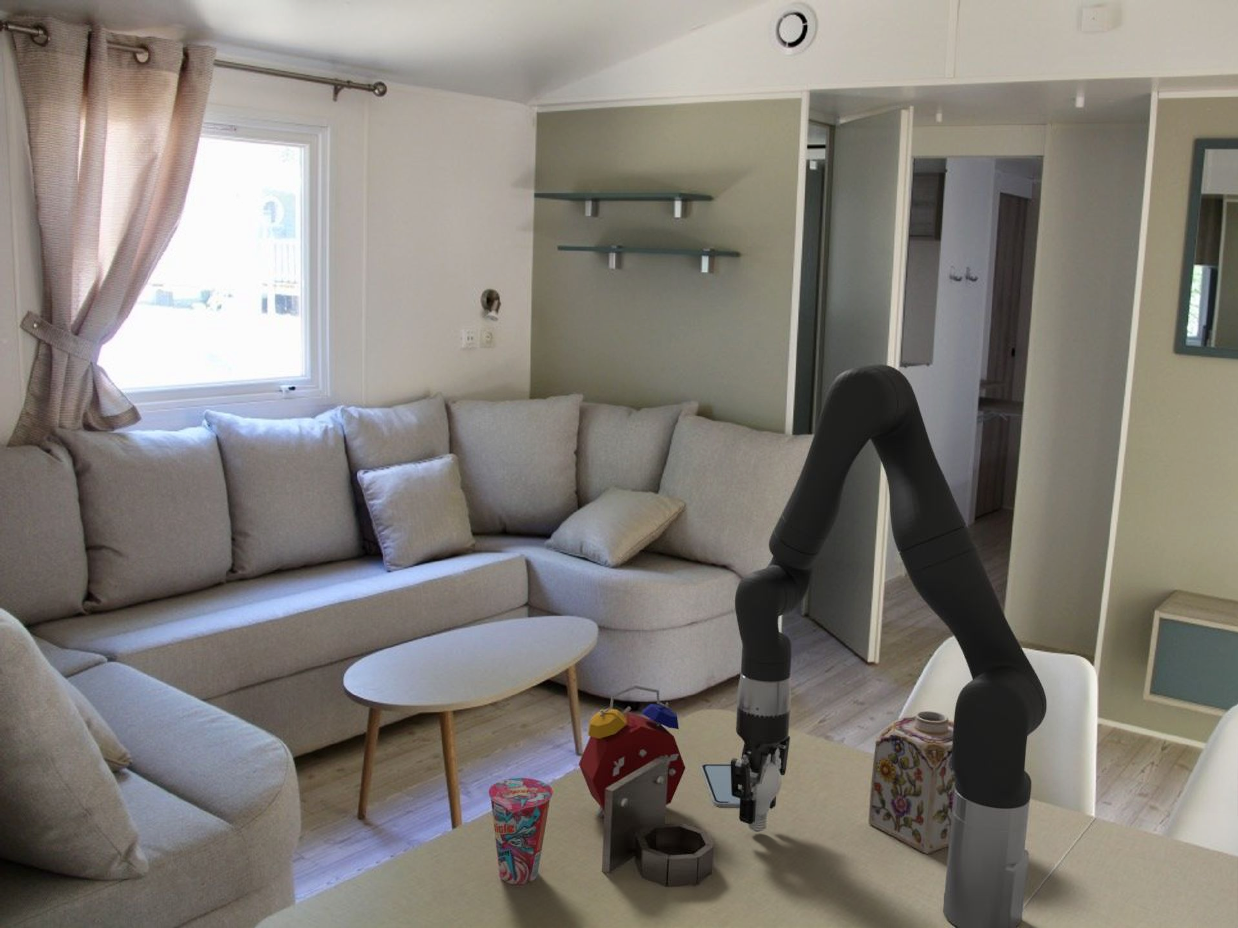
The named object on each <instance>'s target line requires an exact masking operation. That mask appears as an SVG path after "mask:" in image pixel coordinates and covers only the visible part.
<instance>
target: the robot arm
mask: <svg viewBox="0 0 1238 928" xmlns="http://www.w3.org/2000/svg"><path fill="white" fill-rule="evenodd" d="M869 440H870V441H871V443H872V445H873V447H874V449H875V451H876V454H877V455H878V458H879V460H880V462H881V464H882V467H883V470H884V473H885V475H886V476H885V477H886V481H887V487H888V493H889V495H888V496H889V512H890V523H891V531H892V536H893V540H894V543H895V546H896V549H897V551H898V552H899V556H900V559H901V561H902V563H903V566H904V568H905V570H906V573H907V574H908V577H909V579H910V581H911V583H912V585H913V587H914V589H915V590H916V591H917V593H918V594H919V596H920V597H921V598H922V600H923V601H924V602H925V603H926V604H927V606H928V607H929V608H930V609H931V610H932V612H934V614H935V615H937V617H939V619H940V620H941V621H942V622H943V623H944V624H945V626H946V627H947V628H948V629H949V631H950V632H951V633H952V635H953V637H954V638H955V640H956V642H957V644H958V645H959V647H960V650H961V652H962V655H964V659H965V662H966V664H967V667H968V669H969V673H970V676H971V680H970V681H969V682H968V683H967V684H966V685H965V686H964V687H962V689H961V690H960V692H959V694H958V696H957V698H956V699H957V700H956V702H955V708H954V713H953V714H954V715H953V722H954V725H953V744H952V767H953V771H954V774H955V788H954V799H953V809H952V819H951V830H950V841H949V846H948V852H947V854H948V855H947V865H946V875H945V884H944V893H943V909H942V912H943V914H944V917H945V918H946V919H947V921H948V922H950V923H951V924H952V925H954V926H955V927H957V928H1017V926H1019V924H1020V922H1021V921H1022V919H1023V911H1024V903H1025V901H1024V900H1025V893H1026V882H1027V875H1028V864H1029V855H1030V854H1029V853H1030V852H1029V851H1028V850H1026V849H1025V848H1026V839H1027V829H1028V820H1029V812H1030V811H1029V810H1030V801H1031V793H1032V779H1031V776H1030V775H1029V773H1028V772H1027V771H1026V769H1025V767H1026V757H1027V756H1026V755H1027V754H1026V753H1027V744H1028V737H1029V736H1030V734H1032V733H1033V732H1034V731H1036V730H1037V728H1039V727H1040V726H1041V724H1042V723H1043V721H1044V720H1045V716H1046V714H1047V709H1048V708H1047V696H1046V692H1045V689H1044V687H1043V685H1042V683H1041V680H1040V678H1039V676H1038V674H1037V673H1036V671H1035V669H1034V667H1033V665H1032V664H1031V662H1030V661H1029V659H1028V657H1027V655H1026V654H1025V652H1024V650H1023V648H1022V647H1021V644H1020V642H1019V641H1018V639H1017V637H1016V635H1015V634H1014V631H1013V630H1012V629H1011V626H1010V624H1009V622H1008V620H1007V618H1006V615H1005V614H1004V611H1003V609H1002V607H1001V603H1000V601H999V599H998V596H997V594H996V592H995V589H994V587H993V584H992V582H991V580H990V578H989V575H988V573H987V571H986V569H985V567H984V563H983V561H982V559H981V556H980V553H979V551H978V549H977V546H976V544H975V542H974V540H973V536H972V535H971V533H970V530H969V528H968V526H966V525H967V524H966V521H965V519H964V517H963V515H962V513H961V511H960V509H959V507H958V505H957V502H956V500H955V497H954V495H953V493H952V490H951V489H950V485H949V484H948V481H947V479H946V476H945V475H944V472H943V470H942V468H941V466H940V464H939V462H938V460H937V459H938V458H937V457H936V454H935V452H934V449H933V446H932V444H931V441H930V437H929V435H928V431H927V427H926V425H925V422H924V418H923V415H922V413H921V409H920V406H919V403H918V400H917V397H916V394H915V392H914V390H913V387H912V384H911V382H910V381H909V380H908V378H907V377H906V376H905V374H903V373H902V372H901V371H900V370H899V369H896V368H895V367H893V366H890V365H888V364H873V365H864V366H863V365H862V366H857V367H851V368H849V369H847V370H844V371H842V372H841V373H840V374H838V375H837V376H836V377H835V379H833V381H832V383H831V384H830V386H829V388H828V390H827V393H826V396H825V399H824V402H823V405H822V408H821V412H820V416H819V419H818V421H817V425H816V428H815V431H814V435H813V437H812V442H811V443H810V447H809V449H808V452H807V455H806V459H805V461H804V465H803V466H802V469H801V472H800V474H799V477H798V479H797V481H796V484H795V486H794V488H793V491H792V492H791V494H790V497H789V499H788V501H787V502H786V505H785V506H784V509H783V511H782V512H781V515H780V517H779V518H778V521H777V522H776V524H775V526H774V527H773V530H772V532H771V535H770V537H769V540H768V548H769V552H770V554H771V556H772V558H771V560H770V562H769V564H768V565H767V566H766V567H765V568H762V569H759V570H756V571H753V572H750V573H748V574H746V575H745V576H743V577H742V579H741V580H740V581H739V582H738V585H737V587H736V590H735V591H736V592H735V595H734V596H735V597H734V610H735V615H736V616H735V617H736V621H737V627H738V631H739V636H740V639H741V644H742V648H741V666H740V677H739V681H738V689H737V702H736V703H737V704H736V707H737V708H736V722H735V723H736V724H735V726H736V727H735V732H736V734H737V736H738V737H739V738H741V740H742V742H743V747H742V748H743V749H742V751H741V757H740V758H735V757H733V758H732V759H731V760H730V764H731V793H732V796H734V797H737V798H740V807H739V812H738V813H739V814H738V819H739V821H740V822H742V823H745V824H747V825H748V824H752V823H753V822H754V821H755V810H756V795H757V786H758V785H759V784H761V783H762V780H763V777H764V775H765V772H766V769H767V766H768V765H769V763H770V761H771V762H773V763H774V764H775V765H776V766H777V768H778V769H779V771H780V774H781V776H785V775H786V771H787V765H788V763H787V762H788V757H789V750H790V741H791V736H790V735H789V731H790V730H789V729H790V713H791V697H792V688H791V666H792V643H791V640H790V638H789V636H788V635H787V634H784V633H782V632H780V629H779V617H780V616H783V615H784V616H785V615H786V614H789V613H791V612H793V611H794V610H795V609H797V607H799V605H800V604H801V602H803V600H804V598H805V596H806V594H807V592H808V590H809V587H810V583H811V581H812V580H811V579H812V576H813V573H814V569H815V563H816V560H817V558H818V556H819V555H820V553H821V552H822V551H821V550H822V549H823V547H824V545H825V544H826V542H827V540H828V537H829V536H830V534H831V532H832V530H833V528H834V525H835V523H836V521H837V519H838V516H839V511H840V509H841V508H840V507H841V502H842V496H843V492H844V487H845V484H846V479H847V476H848V474H849V472H850V469H851V467H852V465H853V464H854V462H855V460H856V458H857V457H858V455H859V454H860V453H861V451H863V450H862V449H863V448H864V447H865V445H866V444H867V443H868V442H869ZM750 772H754V773H758V776H757V777H756V778H754V777H750ZM750 782H752V789H751V790H750ZM738 784H739V789H738ZM776 803H777V796H776V797H775V798H774V799H773V800H772V802H771V804H770V808H769V809H773V808H775V807H776V805H777V804H776Z"/></svg>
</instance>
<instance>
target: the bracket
mask: <svg viewBox="0 0 1238 928" xmlns="http://www.w3.org/2000/svg"><path fill="white" fill-rule="evenodd" d="M667 778H668V757H664V756H660V757H658V758H656V759H655V760H653V761H651V762H650V763H648V764H646V765H644V766H643V767H641V768H639V769H638V770H636V771H634V772H633V773H631V774H629V775H627V776H626V777H624V778H622V779H621V780H619V781H617V782H615V783H614V784H612V785H610V786H609V787H607V788H605V807H604V814H603V834H602V837H603V838H602V859H601V872H603V873H604V874H605V873H606V874H608V875H610V874H612V873H613V872H615V871H616V870H617V869H619V868H620V867H622V866H623V865H625V864H626V863H627V862H629V861H631V860H632V859H633V858H634V863H635V866H636V869H637V871H638V874H639V876H640V878H641V879H645V880H647V881H650V882H652V883H655V884H657V885H660V886H663V887H665V888H666V887H667V888H675V887H690V886H691V887H692V886H693V887H694V886H698V885H700V884H701V883H703V881H705V880H706V879H708V877H710V876H711V875H712V874H713V870H714V869H713V868H714V866H713V864H714V852H715V850H714V849H715V845H714V843H713V841H712V840H711V837H710V836H709V834H708V832H707V831H706V830H702V829H700V828H697V827H695V826H691V825H688V824H685V823H682V822H675V823H674V822H673V823H672V822H671V823H666V818H667V817H666V815H667V814H666V812H667V805H666V797H667Z"/></svg>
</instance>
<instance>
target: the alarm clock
mask: <svg viewBox="0 0 1238 928" xmlns="http://www.w3.org/2000/svg"><path fill="white" fill-rule="evenodd" d="M635 689H637V690H642V691H646V692H651V693H656V704H654V703H650V704H649V705H647V706H646V707H645V708H643V709H641V712H642V715H643V716H642V715H639V714H636V713H632V712H630V711H631V710H632V708H631V706H627V707H626V708H625V709H624V710H623V711H622V712H621V711H619V710H618V709H614V708H613V706H614V698H615V697H618V696H620V695H623V694H625V693H628V692H630V691H633V690H635ZM669 708H670V707H669V702H666V703H665V704H664V703H662V702H661V701H660V690H659V689H656V688H655V689H654V688H649V687H645V686H639V685H634V686H631V687H629V688H626V689H623V690H620V691H619V692H616V693H614V694H611V695H610V704H609V707H608V708H606V709H603V708H602V709H600V710H599V711H598V712H596V713H595V714H594V715H593V716H592V717H590V719H589V723H588V731H587V732H588V733H587V734H588V737H589V739H588V741H587V744H586V746H585V749H584V750H583V753H582V755H581V758H580V760H579V762H578V766H579V768H580V771H581V773H582V777H583V778H584V780H585V783H586V785H587V788H588V790H589V793H590V796H591V797H592V798H593V799H594V800H595V802H596V803H597V804H598V805H599V809H598V812H597V814H596V816H597V818H598V817H599V818H601V817H603V816H604V807H605V788H607V787H609V786H610V785H612V784H614V783H615V782H617V781H619V780H621V779H622V778H624V777H626V776H627V775H629V774H631V773H633V772H634V771H636V770H638V769H639V768H641V767H643V766H644V765H646V764H648V763H650V762H651V761H653V760H655V759H656V758H658V757H660V756H664V757H668V778H667V797H666V806H667V805H670V804H671V803H672V800H673V798H674V796H675V794H676V791H677V789H678V786H679V784H680V782H681V780H682V777H683V775H684V773H685V771H686V766H685V763H684V760H683V758H682V755H681V753H680V750H679V747H678V744H677V740H676V739H675V736H674V735H673V734H672V733H671V732H670V731H669V730H668V729H669V728H670V729H674V730H679V728H680V727H679V720H678V719H679V718H678V715H677V714H676V713H675V712H674V711H673V710H671V709H669ZM665 727H666V728H668V729H666V728H665Z"/></svg>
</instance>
